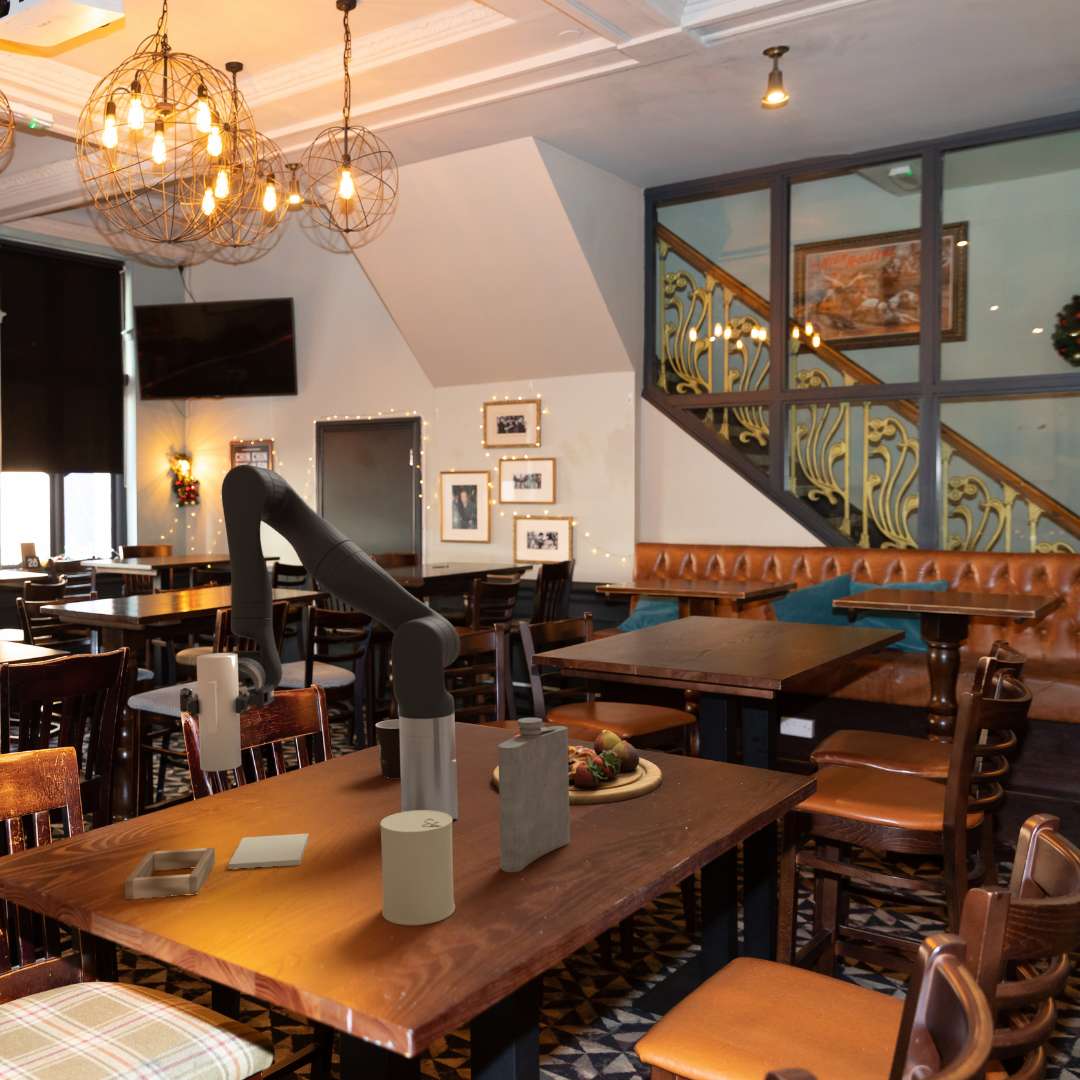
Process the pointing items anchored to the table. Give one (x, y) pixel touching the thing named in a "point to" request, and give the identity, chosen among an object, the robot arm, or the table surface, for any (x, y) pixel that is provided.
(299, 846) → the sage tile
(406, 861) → the can
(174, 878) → the collar
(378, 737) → the coffee mug
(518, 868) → the hip flask
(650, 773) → the wooden plate with food
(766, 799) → the table surface
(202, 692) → the cream jug
